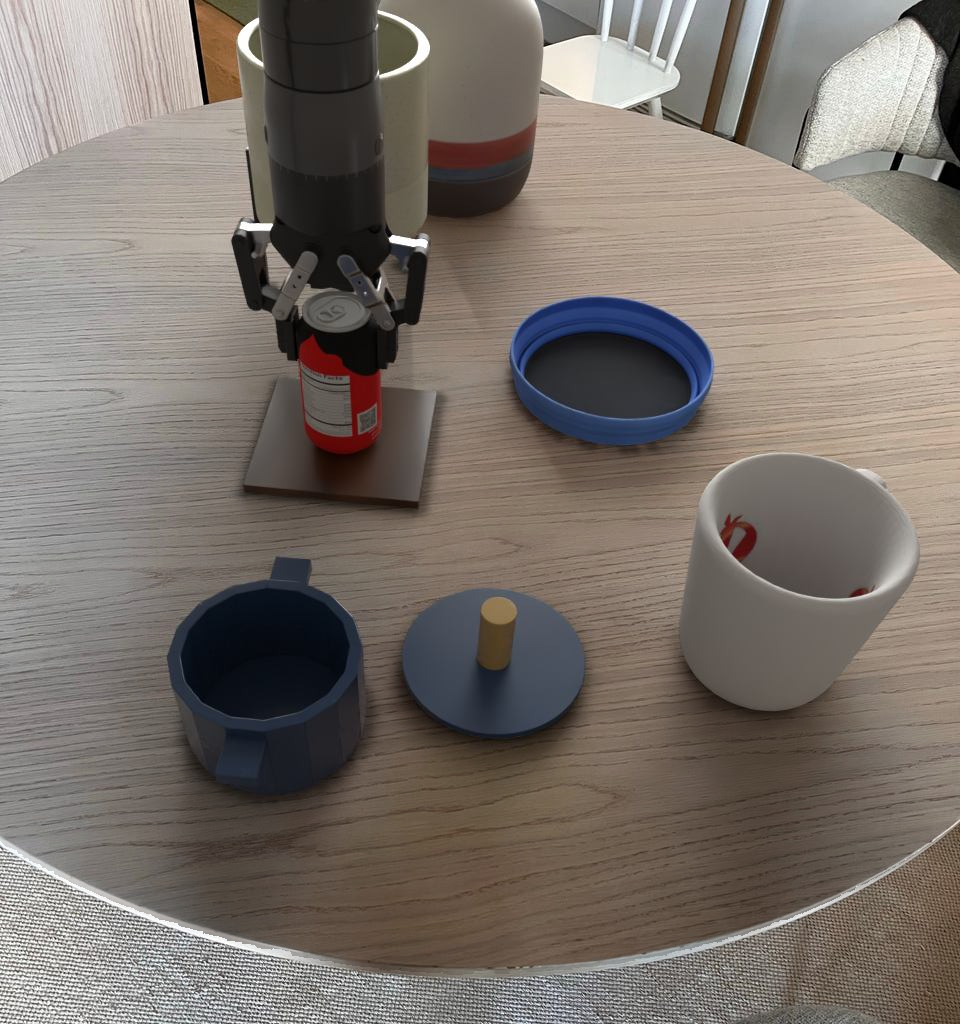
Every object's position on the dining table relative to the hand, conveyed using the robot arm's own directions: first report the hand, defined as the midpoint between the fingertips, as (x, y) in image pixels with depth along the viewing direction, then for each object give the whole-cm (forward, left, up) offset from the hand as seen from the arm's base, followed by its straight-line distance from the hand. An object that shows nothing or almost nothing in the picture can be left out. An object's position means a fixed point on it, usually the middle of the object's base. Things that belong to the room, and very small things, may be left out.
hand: (339, 358), depth 79 cm
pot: (0, -28, -9) cm, 29 cm away
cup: (+34, -17, -9) cm, 39 cm away
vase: (+5, +43, -9) cm, 44 cm away
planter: (-3, +21, -9) cm, 23 cm away
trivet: (0, 0, -9) cm, 9 cm away
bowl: (+22, +11, -9) cm, 26 cm away
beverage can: (0, 0, -8) cm, 8 cm away
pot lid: (+14, -22, -8) cm, 27 cm away
